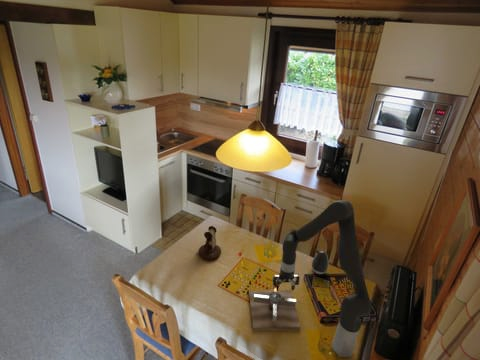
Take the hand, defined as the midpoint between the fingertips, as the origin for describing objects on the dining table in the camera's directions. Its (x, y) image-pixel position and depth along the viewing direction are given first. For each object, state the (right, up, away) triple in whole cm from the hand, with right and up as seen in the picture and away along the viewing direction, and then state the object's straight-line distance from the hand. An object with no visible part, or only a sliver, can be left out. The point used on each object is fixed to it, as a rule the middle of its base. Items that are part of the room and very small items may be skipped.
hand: (284, 289), depth 170 cm
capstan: (-7, -7, -7) cm, 12 cm away
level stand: (-7, -9, -6) cm, 13 cm away
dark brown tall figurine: (-45, +12, +32) cm, 56 cm away
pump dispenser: (+25, +3, +24) cm, 35 cm away
